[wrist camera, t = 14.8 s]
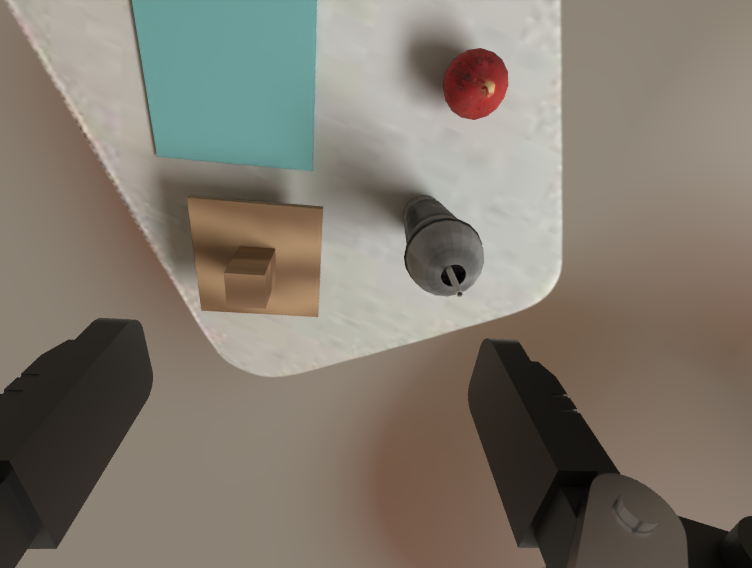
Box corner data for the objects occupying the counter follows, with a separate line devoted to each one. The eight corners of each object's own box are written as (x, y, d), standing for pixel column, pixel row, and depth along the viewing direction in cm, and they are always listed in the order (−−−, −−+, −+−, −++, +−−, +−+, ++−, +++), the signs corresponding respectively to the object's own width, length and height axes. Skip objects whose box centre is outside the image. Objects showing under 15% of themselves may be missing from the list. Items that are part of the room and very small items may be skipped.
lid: (189, 195, 38) (160, 219, 32) (323, 206, 39) (318, 231, 33) (203, 306, 44) (181, 343, 38) (318, 313, 46) (313, 349, 40)
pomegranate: (425, 93, 39) (441, 99, 32) (459, 36, 37) (485, 29, 30) (469, 125, 41) (493, 137, 34) (504, 73, 39) (538, 74, 32)
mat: (128, -37, 33) (125, -39, 33) (317, -11, 35) (316, -12, 34) (159, 155, 41) (157, 156, 40) (312, 169, 42) (312, 170, 42)
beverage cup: (414, 253, 48) (451, 359, 31) (379, 209, 45) (398, 298, 28) (464, 219, 46) (534, 311, 29) (431, 170, 43) (487, 240, 26)
